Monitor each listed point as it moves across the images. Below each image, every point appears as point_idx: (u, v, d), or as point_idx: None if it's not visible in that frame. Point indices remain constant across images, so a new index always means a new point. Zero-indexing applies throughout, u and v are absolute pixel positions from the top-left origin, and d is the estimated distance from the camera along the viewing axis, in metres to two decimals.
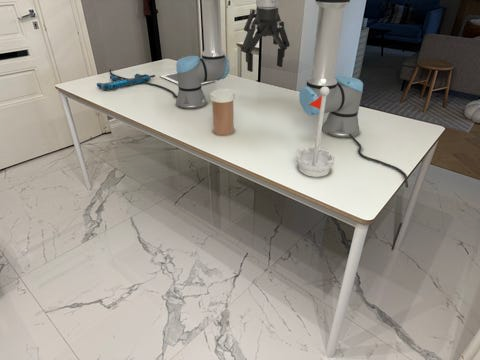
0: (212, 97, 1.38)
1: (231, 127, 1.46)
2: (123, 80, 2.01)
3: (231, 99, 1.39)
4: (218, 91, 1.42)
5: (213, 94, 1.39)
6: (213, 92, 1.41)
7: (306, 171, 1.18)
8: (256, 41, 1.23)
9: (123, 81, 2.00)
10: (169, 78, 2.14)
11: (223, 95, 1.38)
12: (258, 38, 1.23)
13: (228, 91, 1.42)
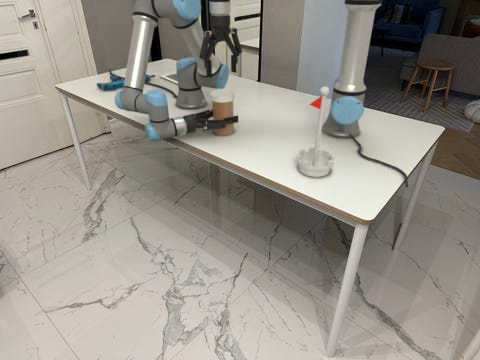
0: (212, 97, 1.38)
1: (231, 127, 1.46)
2: (123, 80, 2.01)
3: (231, 99, 1.39)
4: (218, 91, 1.42)
5: (213, 94, 1.39)
6: (213, 92, 1.41)
7: (306, 171, 1.18)
8: None
9: (123, 81, 2.00)
10: (169, 78, 2.14)
11: (223, 95, 1.38)
12: None
13: (228, 91, 1.42)
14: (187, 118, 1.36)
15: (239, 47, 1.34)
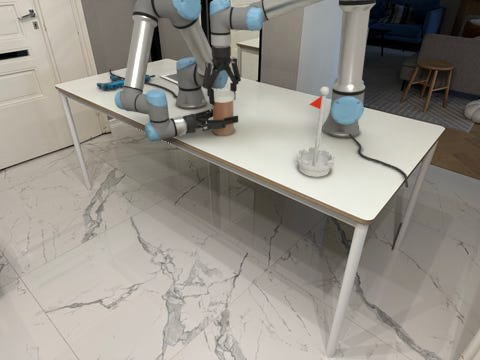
0: None
1: (231, 127, 1.46)
2: (123, 80, 2.01)
3: (231, 99, 1.39)
4: (218, 91, 1.42)
5: None
6: None
7: (306, 171, 1.18)
8: None
9: (123, 81, 2.00)
10: (169, 78, 2.14)
11: (223, 95, 1.38)
12: None
13: (228, 91, 1.42)
14: (187, 118, 1.36)
15: (238, 76, 1.40)
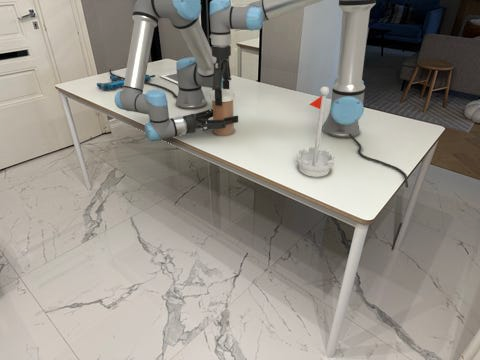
0: (230, 97, 1.38)
1: (231, 127, 1.46)
2: (123, 80, 2.01)
3: None
4: None
5: (226, 95, 1.37)
6: None
7: (306, 171, 1.18)
8: None
9: (123, 81, 2.00)
10: (169, 78, 2.14)
11: (228, 92, 1.41)
12: None
13: None
14: (187, 118, 1.36)
15: (229, 72, 1.43)
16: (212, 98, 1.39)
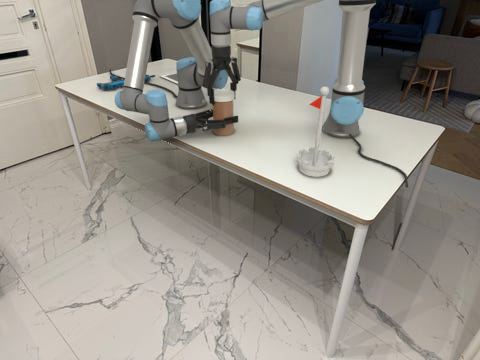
0: (230, 97, 1.38)
1: (231, 127, 1.46)
2: (123, 80, 2.01)
3: None
4: (217, 94, 1.39)
5: (226, 95, 1.37)
6: (220, 95, 1.37)
7: (306, 171, 1.18)
8: None
9: (123, 81, 2.00)
10: (169, 78, 2.14)
11: (228, 92, 1.41)
12: None
13: (216, 91, 1.42)
14: (187, 118, 1.36)
15: (238, 75, 1.40)
16: None
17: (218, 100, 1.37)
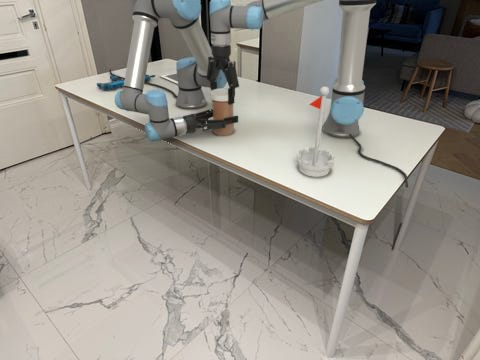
0: None
1: (231, 127, 1.46)
2: (123, 80, 2.01)
3: None
4: (227, 93, 1.39)
5: None
6: None
7: (306, 171, 1.18)
8: None
9: (123, 81, 2.00)
10: (169, 78, 2.14)
11: (219, 90, 1.42)
12: None
13: (217, 94, 1.38)
14: (187, 118, 1.36)
15: None
16: None
17: (234, 96, 1.40)
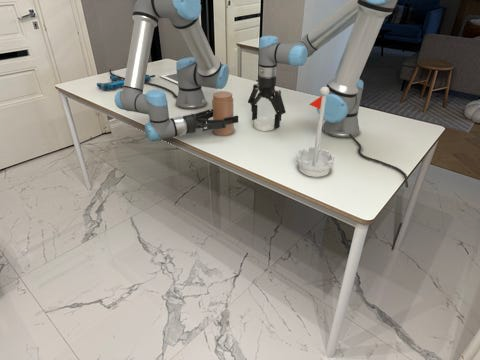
0: None
1: (231, 127, 1.46)
2: (123, 80, 2.01)
3: None
4: (270, 123, 1.51)
5: (271, 119, 1.55)
6: (274, 121, 1.53)
7: (306, 171, 1.18)
8: None
9: (123, 81, 2.00)
10: (169, 78, 2.14)
11: (262, 119, 1.55)
12: None
13: (261, 124, 1.51)
14: (187, 118, 1.36)
15: None
16: (273, 127, 1.51)
17: None
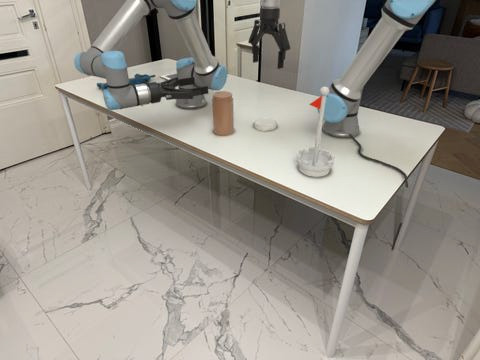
0: None
1: (231, 127, 1.46)
2: None
3: None
4: (270, 123, 1.51)
5: (271, 119, 1.55)
6: (274, 121, 1.53)
7: (306, 171, 1.18)
8: None
9: None
10: (169, 78, 2.14)
11: (262, 119, 1.55)
12: None
13: (261, 124, 1.51)
14: (151, 85, 1.23)
15: None
16: (273, 127, 1.51)
17: None
